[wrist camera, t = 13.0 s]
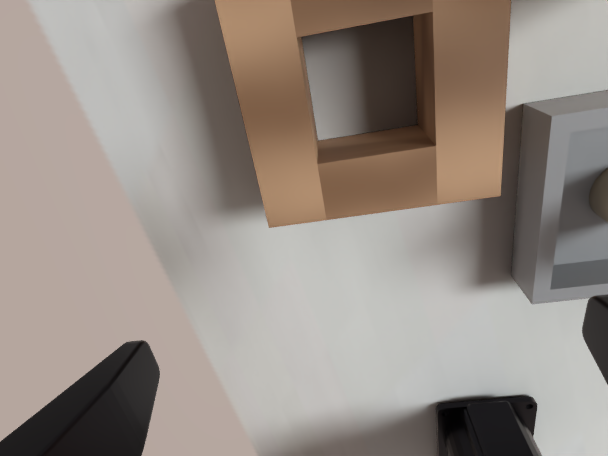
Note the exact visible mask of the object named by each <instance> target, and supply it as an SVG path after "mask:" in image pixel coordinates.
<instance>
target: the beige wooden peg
mask: <svg viewBox="0 0 608 456" xmlns="http://www.w3.org/2000/svg"><path fill="white" fill-rule="evenodd" d="M589 203H590V207H591V209H592V210H593V211H594V212H595V213H596V214H597V215H598V216H600V217H601V218H602V219H604V220H605V221H606V222H608V168H607V169H606V170H605V171H603V172H602V173H601V174H600V175H599V176H598V178H597V179H596V180H595V182H594V183H593V185H592V187H591V190H590V193H589Z"/></svg>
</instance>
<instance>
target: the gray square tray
mask: <svg viewBox="0 0 608 456" xmlns="http://www.w3.org/2000/svg"><path fill="white" fill-rule="evenodd" d="M607 168H608V90H606V91H599V92H593V93H587V94H581V95H574V96H568V97H562V98H556V99H550V100H543V101H537V102H531V103H525V104H523V118H522V132H521V145H520V159H519V172H518V186H517V200H516V213H515V227H514V240H513V254H512V268H511V276H512V277H513V279H514V280H515V282H516V283H517V284H518V286H519V287H520V288H521V290H522V291H523V293H524V294H525V295H526V297H527V298H528V299H529V301H530V302H531V304H539V303H548V302H558V301H567V300H576V299H585V298H591V297H593V296H596V295H606V294H608V222H606V221H605V220H604V219H602V218H601V217H600V216H598V215H597V214H596V213H595V212H594V211H593V210H592V209H591V207H590V203H589V193H590V190H591V187H592V185H593V183H594V182H595V180H596V179H597V178H598V176H599V175H600V174H601V173H602V172H603V171H605V170H606V169H607Z"/></svg>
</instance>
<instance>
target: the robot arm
mask: <svg viewBox="0 0 608 456" xmlns="http://www.w3.org/2000/svg"><path fill="white" fill-rule="evenodd" d="M582 333H583V337H584V340H585V342H586V344H587V346H588V348H589V350H590V352H591V354H592V356H593V358H594V360H595V361H596V363H597V365H598V367H599V369H600V371H601V373H602V375H603V377H604V379H605V380H606V382H607V384H608V294H606V295H596V296H593V297H591V298H590V299H589V300H588V303H587V308H586V313H585V317H584V322H583V327H582ZM159 377H160V371H159V367H158V364H157V362H156V360H155V357H154V355H153V353H152V351H151V349H150V346H149V344H148V343H147V342H146V341H142V340H141V341H131V342H126V343H125V344H123V345H122V346H121V347H119V348H118V349H117V350H116V351H114V352H113V353H112V354H110V355H109V356H108V357H107V358H105V359H104V360H103V361H102V362H100V363H99V364H98V365H97V366H95V367H94V368H93V369H92V370H90V371H89V372H88V373H86V374H85V375H84V376H83V377H81V378H80V379H79V380H78V381H76V382H75V383H74V384H73V385H71V386H70V387H69V388H68V389H66V390H65V391H64V392H62V393H61V394H60V395H59V396H57V397H56V398H55V399H54V400H53V401H51V402H50V403H49V404H47V405H46V406H45V407H44V408H42V409H41V410H40V411H39V412H37V413H36V414H35V415H33V416H32V417H31V418H30V419H28V420H27V421H26V422H25V423H23V424H22V425H21V426H20V427H18V428H17V429H16V430H14V431H13V432H12V433H11V434H9V435H8V436H7V437H6V438H4V439H3V440H2V441H1V442H0V456H141V455H142V452H143V449H144V444H145V441H146V437H147V432H148V428H149V423H150V419H151V414H152V410H153V405H154V401H155V396H156V391H157V387H158V383H159ZM536 412H537V403H536V401H535V400H534V398H533V397H529V396H527V397H515V398H503V399H491V400H479V401H467V402H455V403H443V404H440V405H438V406H437V407H436V424H437V453H438V456H542V455H541V453H540V451H539V449H538V447H537V445H536V443H535V441H534V439H533V435H534V427H535V419H536Z"/></svg>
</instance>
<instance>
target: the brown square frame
mask: <svg viewBox="0 0 608 456" xmlns="http://www.w3.org/2000/svg"><path fill="white" fill-rule="evenodd" d="M215 4H216V8H217V12H218V17H219V21H220V25H221V29H222V33H223V37H224V42H225V46H226V50H227V54H228V58H229V62H230V67H231V71H232V75H233V79H234V83H235V88H236V92H237V96H238V100H239V104H240V108H241V113H242V117H243V121H244V125H245V129H246V134H247V138H248V142H249V146H250V150H251V154H252V159H253V163H254V167H255V171H256V175H257V179H258V184H259V188H260V192H261V196H262V200H263V205H264V209H265V213H266V217H267V221H268V225H269V228H271V227H279V226H286V225H293V224H301V223H308V222H315V221H322V220H330V219H337V218H344V217H351V216H359V215H366V214H373V213H381V212H388V211H395V210H402V209H410V208H417V207H424V206H432V205H439V204H446V203H453V202H461V201H468V200H475V199H483V198H490V197H497V196H501V180H502V162H503V143H504V124H505V106H506V87H507V69H508V50H509V31H510V13H511V0H215ZM408 16H413V29H414V52H415V75H416V97H417V120H418V125H414V126H408V127H402V128H395V129H389V130H383V131H377V132H370V133H364V134H358V135H352V136H345V137H339V138H333V139H327V140H320V141H318V138H317V132H316V126H315V119H314V113H313V107H312V100H311V94H310V88H309V82H308V75H307V69H306V63H305V57H304V50H303V44H302V38H301V37H302V36H308V35H313V34H318V33H323V32H329V31H334V30H339V29H344V28H350V27H355V26H360V25H366V24H371V23H376V22H381V21H387V20H392V19H397V18H402V17H408Z"/></svg>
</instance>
